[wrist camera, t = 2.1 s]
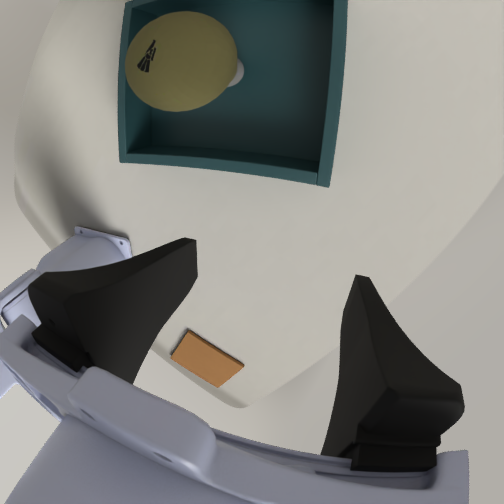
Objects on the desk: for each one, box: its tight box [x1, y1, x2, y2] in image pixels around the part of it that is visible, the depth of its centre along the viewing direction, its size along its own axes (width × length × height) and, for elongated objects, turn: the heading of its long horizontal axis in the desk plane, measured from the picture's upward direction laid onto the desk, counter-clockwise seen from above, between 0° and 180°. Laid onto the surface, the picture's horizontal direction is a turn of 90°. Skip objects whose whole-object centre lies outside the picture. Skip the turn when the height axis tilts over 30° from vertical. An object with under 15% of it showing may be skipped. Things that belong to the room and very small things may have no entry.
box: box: [118, 0, 348, 188], centre depth 16 cm, size 16×14×4 cm
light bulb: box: [125, 11, 244, 112], centre depth 13 cm, size 6×6×10 cm
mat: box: [171, 330, 244, 388], centre depth 34 cm, size 8×8×1 cm
